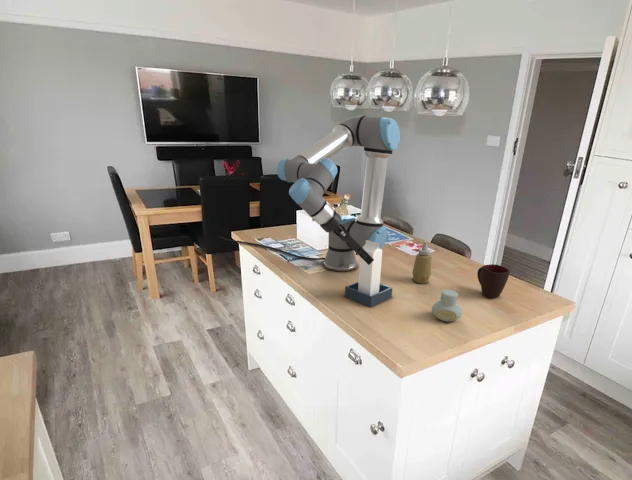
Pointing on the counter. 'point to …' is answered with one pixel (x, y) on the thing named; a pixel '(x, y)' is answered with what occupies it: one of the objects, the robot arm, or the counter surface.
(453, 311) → the air freshener
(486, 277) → the cup
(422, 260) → the squeeze bottle
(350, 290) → the blue square tray
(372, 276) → the milk
